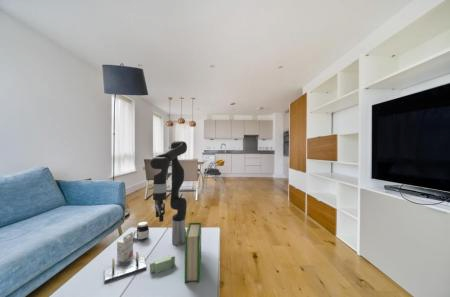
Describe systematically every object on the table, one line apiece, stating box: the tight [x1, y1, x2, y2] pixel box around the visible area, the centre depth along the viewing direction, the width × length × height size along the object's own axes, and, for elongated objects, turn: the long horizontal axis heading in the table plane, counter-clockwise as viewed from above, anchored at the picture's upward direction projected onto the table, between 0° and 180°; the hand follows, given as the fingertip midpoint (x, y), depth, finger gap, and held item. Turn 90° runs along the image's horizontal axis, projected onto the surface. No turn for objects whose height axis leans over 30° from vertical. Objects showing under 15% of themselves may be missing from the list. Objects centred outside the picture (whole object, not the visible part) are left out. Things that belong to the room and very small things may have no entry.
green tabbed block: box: [149, 254, 176, 274], centre depth 105 cm, size 14×4×5 cm, turn 124°
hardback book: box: [184, 222, 202, 284], centre depth 103 cm, size 18×7×24 cm, turn 4°
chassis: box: [103, 251, 147, 284], centre depth 104 cm, size 20×12×8 cm, turn 124°
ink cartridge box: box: [116, 231, 134, 262], centre depth 116 cm, size 9×5×15 cm, turn 168°
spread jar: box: [133, 221, 150, 241], centre depth 141 cm, size 12×11×12 cm
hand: (159, 219), depth 106 cm, fingers open, 8 cm apart
